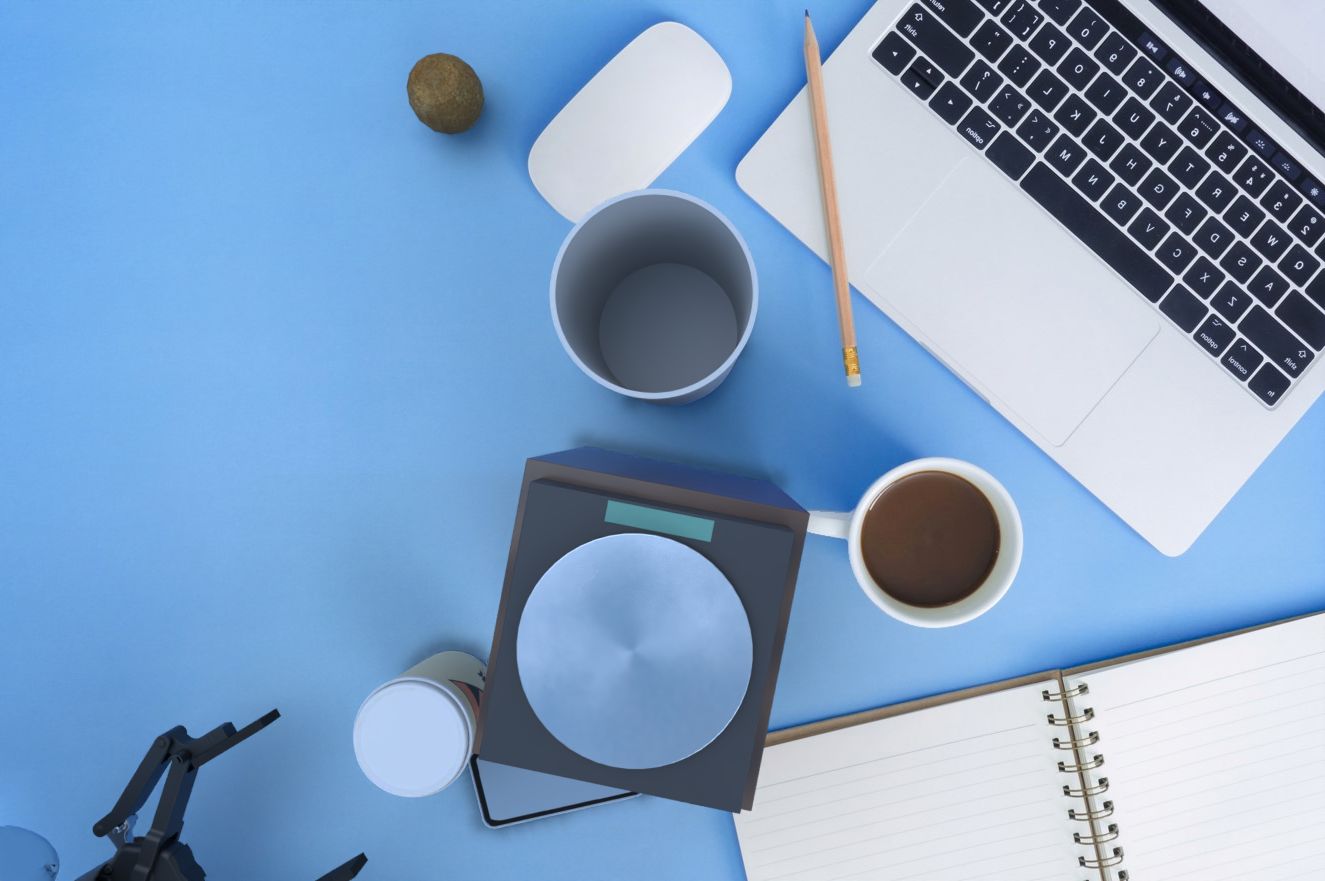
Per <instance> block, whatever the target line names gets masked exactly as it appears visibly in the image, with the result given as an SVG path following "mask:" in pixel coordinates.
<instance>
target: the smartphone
mask: <svg viewBox="0 0 1325 881" xmlns="http://www.w3.org/2000/svg"><path fill="white" fill-rule="evenodd" d="M467 765H468V767H469V768H468V769H469V772H470V776H471V780H472V785H473V789H474V792H475V797H476V800H477V804H478V808H479V811H480V816H481V820H482V823H483V824H484V826H486V827H487V828H489V829H493V830H495V829H500V828H505V827H509V826H514V825H518V824H522V823H527V822H528V823H529V822H531V821H536V820H540V819H541V820H542V819H545V818H550V817H553V816H559V815H562V814H567V813H571V812H576V811H581V810H585V809H590V808H594V807H599V806H602V805H603V806H604V805H607V804H612V803H617V802H620V801H625V800H630V799H634V798H639V797H640V796H641V795H643V794H642V793H637V792H632V791H627V790H622V789H618V788H613V787H608V786H603V785H599V784H594V783H589V782H584V781H579V780H575V779H570V778H565V777H560V776H555V775H551V774H546V773H541V772H536V771H532V770H527V769H522V768H517V767H512V766H508V765H503V764H498V763H493V762H489V761H484V760H479V754H474V753H472V752H471V756H470V758H469V761H468V763H467Z"/></svg>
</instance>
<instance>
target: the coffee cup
mask: <svg viewBox="0 0 1325 881" xmlns="http://www.w3.org/2000/svg"><path fill="white" fill-rule="evenodd" d="M487 668H488V666H486V665H485V664H484V663H483V662H482V661H481V659H478V658H477V657H476V656H474V655H472V654H470V653H468V652H464V651H459V650H445V651H444V650H443V651H440V652H438V653H435V654H433V655H431V656H428V657H427V658H425V659H424V660H422V661H420V662H418V663H417V664H415V665H413V666H412V667H411V668H408V669H407V670H405V671H404V672H402V673H401V674H399V675H398V676H396V677H394V678H392V679H390V680H389V681H386V682H384V683H382V684H381V685H379V686H377V687H376V688H375V689H374V690H373V691H371V693H370V694H369V695H368V696H367V697H366V698H365V699H364V701H363V702H362V703H361V705H360V707H359V709H358V711H357V713H356V716H355V719H354V723H353V728H352V745H353V750H354V755H355V758H356V760H357V763H358V765H359V767H360V769H361V771H362V773H364V776H366V777H367V779H368V780H369V781H370V782H371V783H372V784H374V785H375V786H376V787H377V788H379V789H381V790H382V791H384V792H386V793H389V794H390V795H394V796H397V797H402V798H423V797H424V798H425V797H429V796H432V795H435V794H437V793H441V791H443V790H445V789H447V788H448V787H450V786H451V785H452V784H453V783H454V782H455V781H456V780H457V779H458V778H459V777H460V776H461V774H463V772H464V771H465V769H466V767H467V765H468V761H469V758H470V756H471V752H472V748H473V743H474V737H475V732H476V727H477V721H478V716H479V711H480V705H481V700H482V695H483V689H484V684H485V679H486V673H487Z"/></svg>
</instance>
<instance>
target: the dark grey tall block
mask: <svg viewBox="0 0 1325 881" xmlns="http://www.w3.org/2000/svg"><path fill="white" fill-rule="evenodd" d="M523 470H524V471H523V476H522V482H521V487H520V492H519V498H518V503H517V508H516V513H515V519H514V524H513V530H512V534H511V539H510V545H509V550H508V556H507V562H506V567H505V573H504V577H503V583H502V589H501V594H500V599H499V605H498V608H497V614H496V619H495V620H496V622H495V626H494V631H493V635H492V641H491V646H490V652H489V657H488V658H489V659H488V663H487V673H486V679H485V684H484V689H483V695H482V700H481V705H480V711H479V716H478V721H477V727H476V732H475V737H474V743H473V748H472V753H474V754H479V752H480V747H481V742H482V736H483V731H484V726H485V720H486V715H487V710H488V704H489V699H490V694H491V688H492V683H493V678H494V672H495V667H496V662H497V656H498V651H499V646H500V640H501V635H502V630H503V624H504V619H505V614H506V608H507V603H508V598H509V592H510V587H511V582H512V576H513V571H514V566H515V560H516V555H517V550H518V544H519V539H520V534H521V528H522V523H523V518H524V512H525V507H526V502H527V496H528V491H529V486H530V482H531V481H533V480H536V479H539V478H544V479H549V480H554V481H559V482H564V483H569V484H574V485H579V486H584V487H590V488H595V489H600V490H605V491H610V492H615V493H620V494H625V495H631V496H636V497H641V498H646V499H651V500H656V501H661V502H666V503H671V504H677V505H682V506H687V507H692V508H697V509H702V510H707V511H712V512H717V513H723V514H728V515H733V516H738V517H743V518H748V519H753V520H758V521H763V522H769V523H774V524H779V525H784V526H789V527H790V528H791V529H792V530H793V531H794V533H795V538H794V543H793V548H792V554H791V559H790V564H789V569H788V574H787V579H786V584H785V589H784V594H783V599H782V604H781V609H780V615H779V620H778V625H777V630H776V635H775V640H774V645H773V650H772V655H771V660H770V665H769V671H768V676H767V681H766V686H765V691H764V696H763V701H762V706H761V711H760V716H759V721H758V726H757V732H756V737H755V742H754V747H753V752H752V757H751V762H750V767H749V772H748V777H747V782H746V788H745V793H744V798H743V803H742V808H741V811H742V810H743V811H747V812H752V810H753V805H754V800H755V797H756V796H755V795H756V790H757V785H758V780H759V775H760V771H761V767H762V766H761V765H762V761H763V755H764V750H765V744H766V739H767V735H768V729H769V725H770V721H771V720H770V719H771V715H772V710H773V703H774V699H775V693H776V689H777V685H778V679H779V673H780V668H781V664H782V658H783V654H784V648H785V643H786V638H787V634H788V627H789V623H790V618H791V613H792V607H793V603H794V597H795V592H796V588H797V583H798V577H799V572H800V568H801V562H802V557H803V552H804V547H805V542H806V536H807V531H808V526H809V521H810V517H811V513H810V512H809V511H808V510H807V509H805V508H804V507H803V506H802V505H800V503H798V502H797V501H796V500H795V499H793V498H792V497H791V496H790V495H788V494H787V493H786V492H785V491H784V490H783V489H782V488H780V487H779V486H778V485H777V484H776V483H774V482H772V481H767V480H761V479H756V478H752V477H747V476H742V475H736V474H731V473H726V472H721V471H715V470H711V469H705V468H701V467H695V466H691V465H685V464H679V463H675V462H669V461H664V460H658V459H653V458H649V457H643V456H637V455H633V454H627V453H622V452H617V451H613V450H606V449H601V448H598V447H597V448H596V447H591V446H587V445H586V446H579V447H575V448H570V449H565V450H560V451H555V452H551V453H550V452H549V453H546V454H540V455H535V456H531V457H527V458H526V460H525V465H524V469H523Z"/></svg>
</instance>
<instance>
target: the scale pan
mask: <svg viewBox="0 0 1325 881" xmlns="http://www.w3.org/2000/svg"><path fill="white" fill-rule="evenodd" d="M516 648H517V665H518V672H519V676H520V680H521V684H522V687H523V690H524V692H525V695H526V697H527V700H528V702H529V704H530V706H531V707H532V709H533V711H534V712H535V714H536V716H537V717H538V718H539V720H540V721H541V722H542V724H543V725H544V726H545V728H546V729H547V730H548V731H549V732H550V733H551V734H552V735H553V736H554V737H555V738H556V739H557V740H559V741H560V742H561V743H563V744H564V745H565V746H566V747H568V748H569V749H571V750H572V751H574V752H576V753H578V754H579V755H581V756H583V757H585V758H587V759H590V760H592V761H595V762H597V763H601V764H604V765H608V766H611V767H618V768H625V769H646V768H655V767H660V766H664V765H668V764H672V763H675V762H677V761H680V760H682V759H685V758H687V757H689V756H691V755H693V754H694V753H696V752H698V751H700V750H701V749H702V748H704V747H705V746H706V745H708V744H709V743H710V742H712V741H713V740H714V739H715V738H716V737H717V736H718V735H719V734H720V733H721V732H722V731H723V730H724V729H725V728H726V726H727V725H728V724H729V723H730V721H731V720H732V719H733V717H734V716H735V714H736V712H737V710H738V709H739V707H740V705H741V703H742V701H743V698H744V696H745V693H746V691H747V688H748V684H749V680H750V677H751V670H752V663H753V642H752V635H751V628H750V624H749V621H748V617H747V613H746V610H745V608H744V606H743V603H742V601H741V599H740V597H739V595H738V593H737V591H736V590H735V588H734V586H733V585H732V583H731V582H730V581H729V579H728V578H727V577H726V576H725V574H724V573H723V572H722V571H721V570H720V569H719V568H718V567H717V566H716V565H715V564H714V563H713V562H712V561H711V560H710V559H708V558H707V557H706V556H704V555H703V554H702V553H700V552H699V551H697V550H696V549H694V548H692V547H690V546H689V545H687V544H685V543H682V542H680V541H678V540H675V539H673V538H669V537H666V536H662V535H658V534H652V533H644V532H623V533H616V534H610V535H606V536H602V537H599V538H595V539H593V540H590V541H588V542H586V543H583V544H581V545H579V546H578V547H576V548H574V549H573V550H571V551H569V552H568V553H567V554H565V555H564V556H563V557H561V558H560V559H559V560H557V561H556V562H555V563H554V564H553V565H552V566H551V567H550V568H549V569H548V570H547V571H546V572H545V573H544V575H543V576H542V577H541V579H540V580H539V581H538V583H537V584H536V585H535V587H534V589H533V591H532V592H531V594H530V596H529V598H528V600H527V602H526V605H525V607H524V610H523V612H522V615H521V619H520V623H519V627H518V634H517V643H516Z"/></svg>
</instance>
